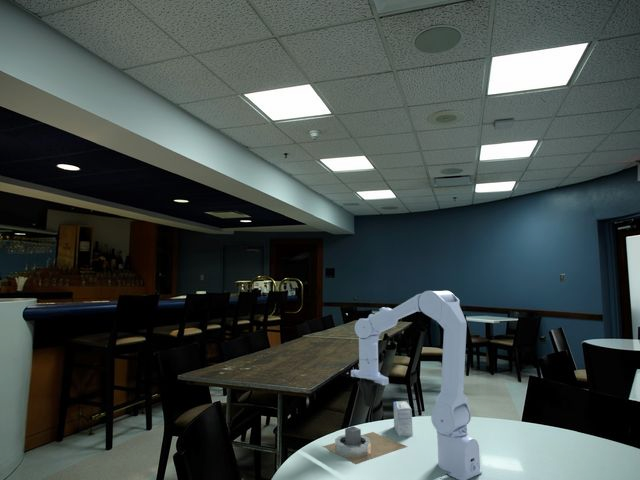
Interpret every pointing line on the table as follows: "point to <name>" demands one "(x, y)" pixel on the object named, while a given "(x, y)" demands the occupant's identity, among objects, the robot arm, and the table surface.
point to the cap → (353, 436)
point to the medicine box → (403, 419)
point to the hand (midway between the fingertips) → (369, 405)
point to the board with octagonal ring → (364, 447)
